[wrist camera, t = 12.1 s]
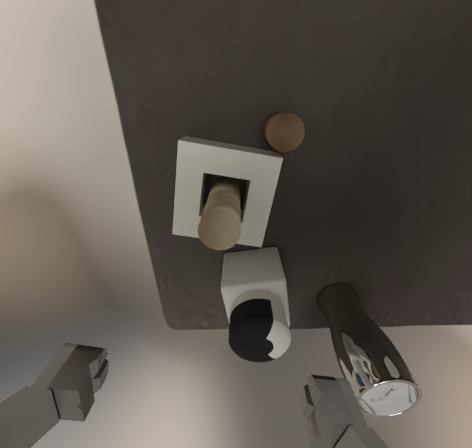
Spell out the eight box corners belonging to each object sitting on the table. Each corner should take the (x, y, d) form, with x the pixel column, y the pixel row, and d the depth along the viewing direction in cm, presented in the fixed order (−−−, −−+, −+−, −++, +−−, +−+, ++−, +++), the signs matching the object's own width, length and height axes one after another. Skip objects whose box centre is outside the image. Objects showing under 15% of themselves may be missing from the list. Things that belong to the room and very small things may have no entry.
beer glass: (353, 275, 37) (420, 372, 23) (362, 307, 39) (427, 410, 26) (308, 289, 38) (347, 389, 24) (320, 319, 41) (361, 424, 27)
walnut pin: (297, 115, 27) (309, 116, 23) (289, 147, 29) (299, 155, 24) (266, 109, 27) (271, 109, 23) (259, 142, 29) (263, 149, 24)
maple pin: (242, 177, 31) (244, 215, 20) (237, 203, 32) (237, 252, 21) (213, 172, 30) (199, 208, 19) (210, 199, 32) (195, 246, 21)
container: (232, 293, 39) (229, 374, 27) (223, 252, 35) (215, 324, 24) (281, 287, 38) (300, 368, 26) (276, 245, 35) (296, 315, 23)
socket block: (277, 152, 29) (283, 158, 26) (259, 232, 34) (261, 247, 30) (185, 136, 28) (178, 140, 25) (179, 220, 33) (172, 234, 30)
